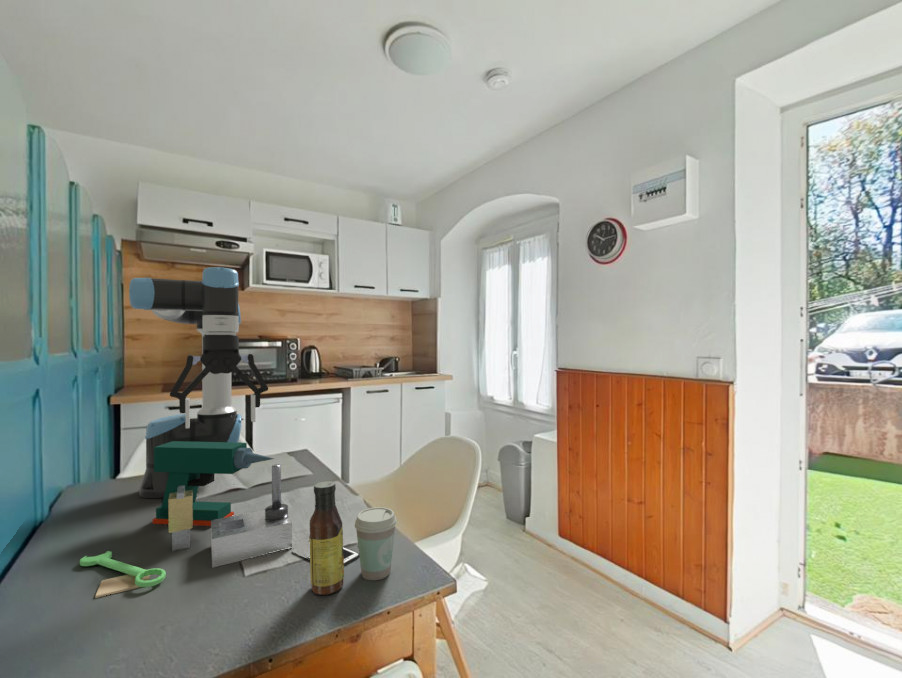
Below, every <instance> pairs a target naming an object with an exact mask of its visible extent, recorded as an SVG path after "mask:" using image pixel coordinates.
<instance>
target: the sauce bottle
mask: <svg viewBox="0 0 902 678" xmlns="http://www.w3.org/2000/svg"><path fill="white" fill-rule="evenodd" d="M336 490H337V489H336V483H335V482H334V481H330V480H329V481H320V482H317V483H316V484H314V485H313V493H314V504H315V505H314V511H313V513H312V515H311V517H310V519H309V537H308V538H309V541H308V542H309V543H310V561H309V569H310V570H309V571H310V573H309V574H310V575H309V576H310V584H311V590H312V592H313V593H314V594H316V595H320V596H327V595H331V594H335V593H336V592H339V590H341V589H342V587H343V586H344V578H345V566H344V557H343V547H344V536H343V535H344V533H343V528H344V527H343V522H342V521H343V520H342V519H341V516H340V513H339V509H338V508H337V505H336Z"/></svg>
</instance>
